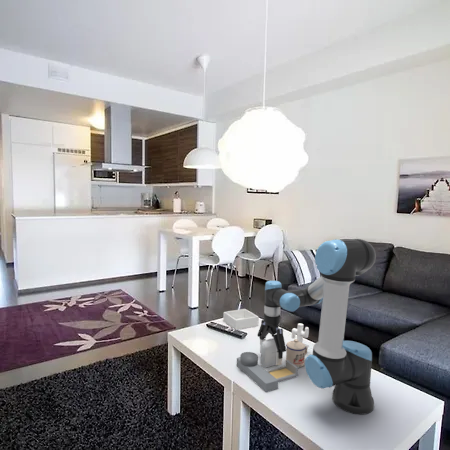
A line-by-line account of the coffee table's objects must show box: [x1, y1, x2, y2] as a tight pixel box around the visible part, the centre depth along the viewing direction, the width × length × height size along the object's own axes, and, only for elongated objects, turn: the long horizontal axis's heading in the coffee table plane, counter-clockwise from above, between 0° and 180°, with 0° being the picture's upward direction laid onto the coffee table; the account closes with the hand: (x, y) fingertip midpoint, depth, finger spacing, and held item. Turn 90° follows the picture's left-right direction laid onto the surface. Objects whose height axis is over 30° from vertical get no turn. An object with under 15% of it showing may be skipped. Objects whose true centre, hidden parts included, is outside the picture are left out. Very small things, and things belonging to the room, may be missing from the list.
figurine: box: [291, 323, 310, 350], centre depth 170 cm, size 7×9×15 cm
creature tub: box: [222, 308, 260, 331], centre depth 207 cm, size 16×16×6 cm
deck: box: [236, 351, 299, 393], centre depth 150 cm, size 24×21×7 cm
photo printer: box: [259, 337, 278, 369], centre depth 157 cm, size 10×4×12 cm, turn 119°
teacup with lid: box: [285, 338, 308, 368], centre depth 160 cm, size 12×9×12 cm
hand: (270, 358), depth 157 cm, fingers open, 12 cm apart
